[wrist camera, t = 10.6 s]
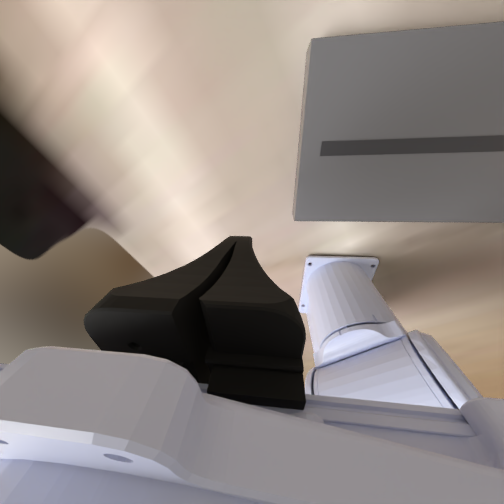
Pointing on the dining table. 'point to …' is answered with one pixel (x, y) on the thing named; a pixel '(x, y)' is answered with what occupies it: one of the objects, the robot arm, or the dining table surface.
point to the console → (403, 127)
